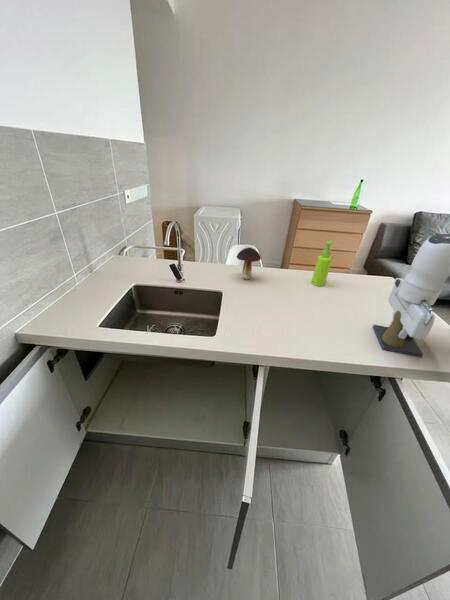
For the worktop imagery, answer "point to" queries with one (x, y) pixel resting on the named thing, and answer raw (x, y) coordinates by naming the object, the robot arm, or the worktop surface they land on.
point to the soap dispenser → (322, 266)
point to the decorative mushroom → (248, 260)
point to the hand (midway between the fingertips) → (397, 330)
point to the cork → (394, 332)
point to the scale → (407, 348)
